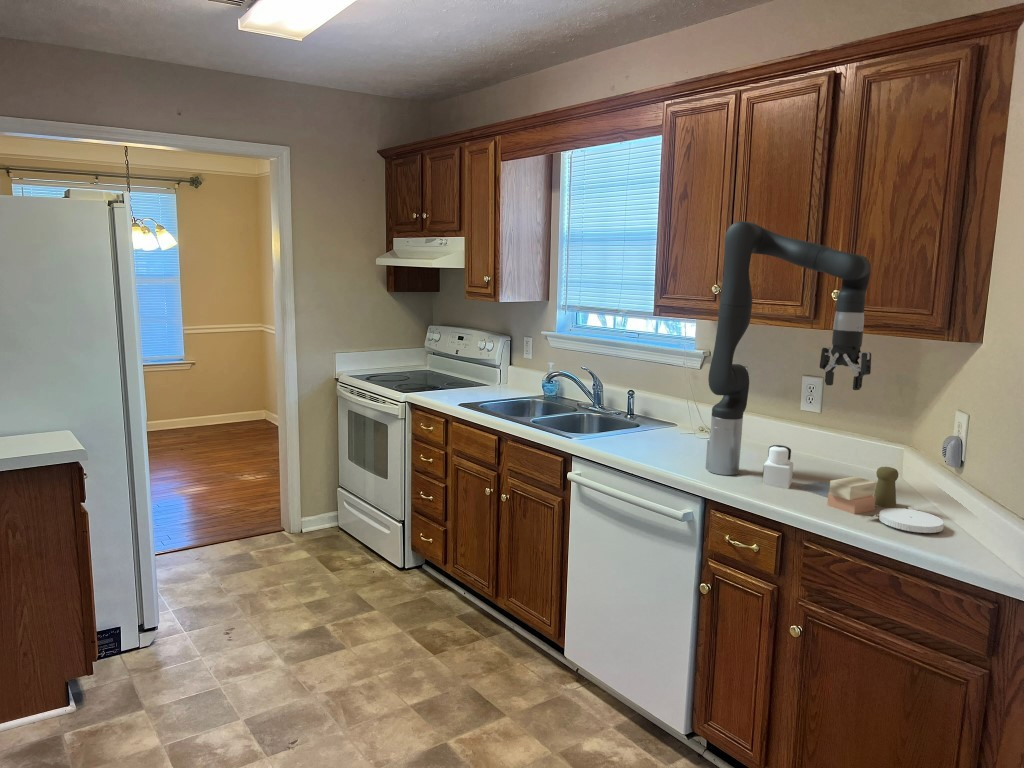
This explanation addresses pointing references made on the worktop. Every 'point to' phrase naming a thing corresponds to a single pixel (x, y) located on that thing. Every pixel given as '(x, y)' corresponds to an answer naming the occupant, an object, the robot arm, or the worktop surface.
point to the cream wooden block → (852, 488)
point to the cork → (886, 487)
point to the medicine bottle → (778, 467)
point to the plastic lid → (911, 520)
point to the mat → (816, 488)
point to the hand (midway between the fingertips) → (842, 387)
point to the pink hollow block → (852, 504)
